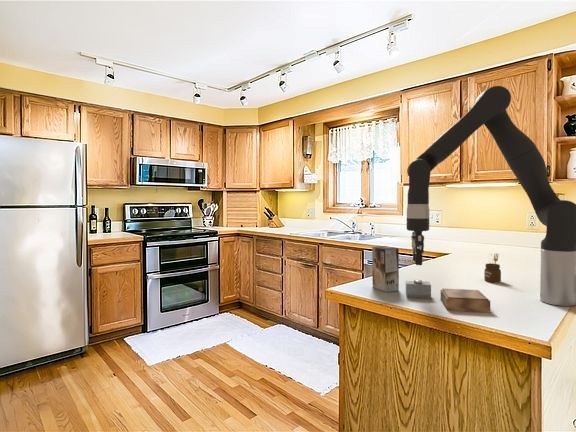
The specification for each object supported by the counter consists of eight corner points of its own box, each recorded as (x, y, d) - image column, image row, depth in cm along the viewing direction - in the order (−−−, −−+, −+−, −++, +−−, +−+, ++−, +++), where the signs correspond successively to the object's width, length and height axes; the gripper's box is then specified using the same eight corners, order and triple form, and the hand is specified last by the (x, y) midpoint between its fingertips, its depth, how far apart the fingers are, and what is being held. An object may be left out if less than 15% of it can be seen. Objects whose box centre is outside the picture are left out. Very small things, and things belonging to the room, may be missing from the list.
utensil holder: (496, 279, 149) (496, 251, 149) (504, 283, 143) (504, 253, 142) (481, 279, 150) (481, 251, 149) (488, 283, 143) (488, 253, 143)
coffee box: (399, 290, 134) (399, 248, 133) (385, 292, 131) (385, 249, 131) (385, 285, 142) (384, 245, 142) (371, 287, 140) (371, 246, 139)
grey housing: (429, 295, 127) (429, 279, 126) (431, 299, 122) (431, 282, 122) (405, 294, 129) (405, 278, 128) (406, 298, 124) (406, 281, 124)
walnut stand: (479, 301, 118) (479, 289, 117) (490, 312, 106) (490, 299, 106) (440, 299, 121) (440, 288, 120) (446, 310, 109) (447, 297, 109)
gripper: (432, 218, 116) (431, 267, 117) (426, 216, 130) (426, 260, 131) (408, 217, 118) (407, 266, 119) (405, 216, 132) (404, 259, 133)
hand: (417, 262), depth 125 cm, fingers open, 8 cm apart
